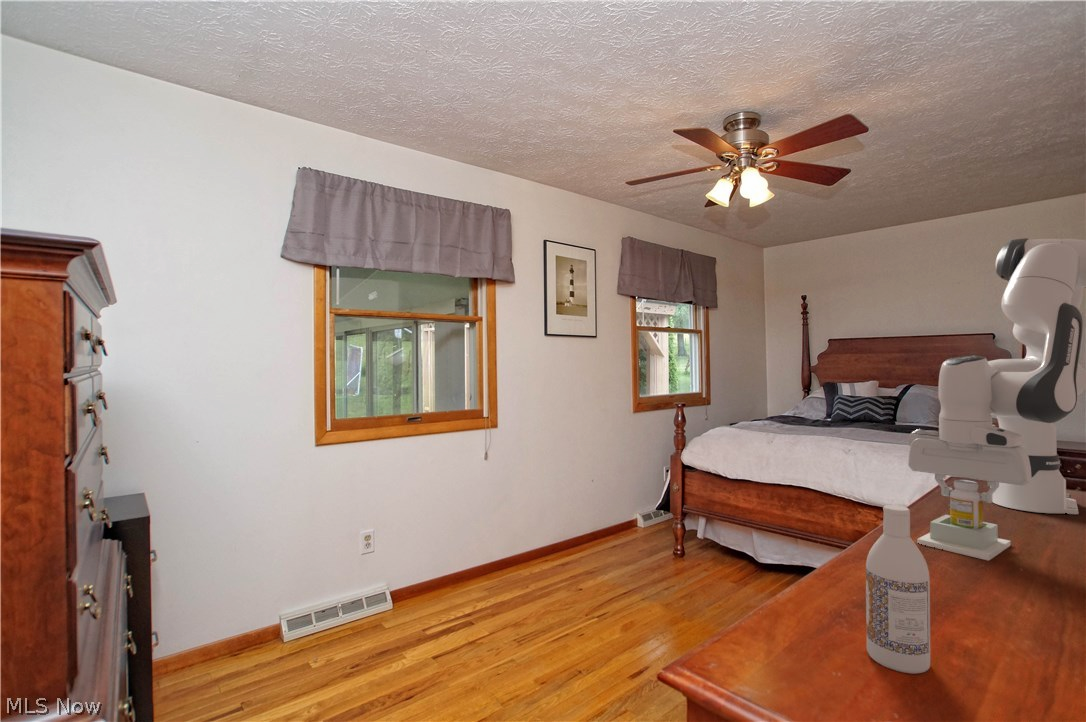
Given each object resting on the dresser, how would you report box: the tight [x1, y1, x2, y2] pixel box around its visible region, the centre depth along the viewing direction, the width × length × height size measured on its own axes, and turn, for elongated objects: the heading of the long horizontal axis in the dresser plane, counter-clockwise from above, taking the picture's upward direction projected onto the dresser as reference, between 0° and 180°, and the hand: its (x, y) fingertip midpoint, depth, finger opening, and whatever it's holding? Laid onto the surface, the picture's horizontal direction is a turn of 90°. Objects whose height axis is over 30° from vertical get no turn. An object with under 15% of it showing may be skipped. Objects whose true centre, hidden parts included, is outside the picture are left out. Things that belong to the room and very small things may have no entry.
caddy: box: [916, 514, 1012, 561], centre depth 111 cm, size 14×12×4 cm
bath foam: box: [865, 504, 931, 675], centre depth 69 cm, size 7×7×20 cm
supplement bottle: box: [949, 479, 984, 530], centre depth 111 cm, size 5×5×10 cm
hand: (966, 498), depth 111 cm, fingers closed on supplement bottle, 5 cm apart
